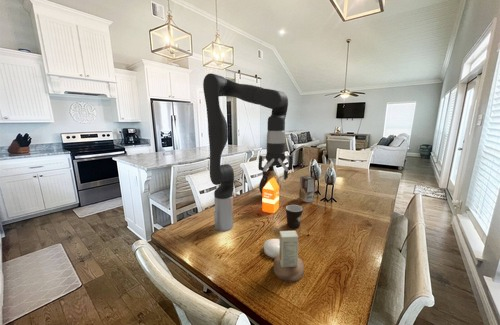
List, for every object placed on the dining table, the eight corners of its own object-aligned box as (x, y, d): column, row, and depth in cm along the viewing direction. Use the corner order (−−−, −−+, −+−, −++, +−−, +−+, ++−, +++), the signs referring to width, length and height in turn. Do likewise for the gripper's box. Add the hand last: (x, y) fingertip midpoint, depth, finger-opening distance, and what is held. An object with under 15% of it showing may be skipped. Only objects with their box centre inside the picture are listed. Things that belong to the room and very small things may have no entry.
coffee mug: (289, 231, 104) (290, 212, 102) (282, 222, 112) (283, 205, 110) (310, 227, 107) (311, 209, 105) (301, 220, 115) (302, 203, 113)
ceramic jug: (282, 201, 141) (283, 158, 135) (259, 201, 141) (259, 158, 135) (279, 192, 157) (280, 154, 151) (258, 192, 158) (259, 154, 152)
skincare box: (295, 259, 79) (296, 229, 76) (298, 267, 74) (299, 236, 72) (278, 259, 78) (279, 230, 76) (280, 267, 74) (281, 237, 72)
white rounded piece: (265, 258, 84) (265, 252, 83) (263, 243, 93) (263, 238, 93) (289, 257, 84) (289, 252, 83) (285, 243, 94) (285, 238, 93)
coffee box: (314, 201, 141) (315, 178, 138) (306, 202, 139) (307, 179, 135) (306, 196, 149) (307, 175, 146) (298, 198, 147) (299, 176, 144)
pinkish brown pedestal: (276, 282, 71) (276, 274, 71) (271, 260, 82) (272, 254, 81) (307, 281, 72) (307, 273, 71) (299, 260, 82) (299, 253, 82)
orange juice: (262, 211, 127) (262, 179, 123) (267, 205, 134) (268, 176, 130) (273, 213, 123) (274, 181, 119) (279, 208, 131) (279, 177, 127)
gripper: (259, 142, 81) (259, 182, 84) (295, 142, 81) (293, 181, 85) (258, 140, 88) (257, 177, 92) (290, 140, 89) (289, 176, 92)
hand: (275, 179), depth 88 cm, fingers open, 8 cm apart
